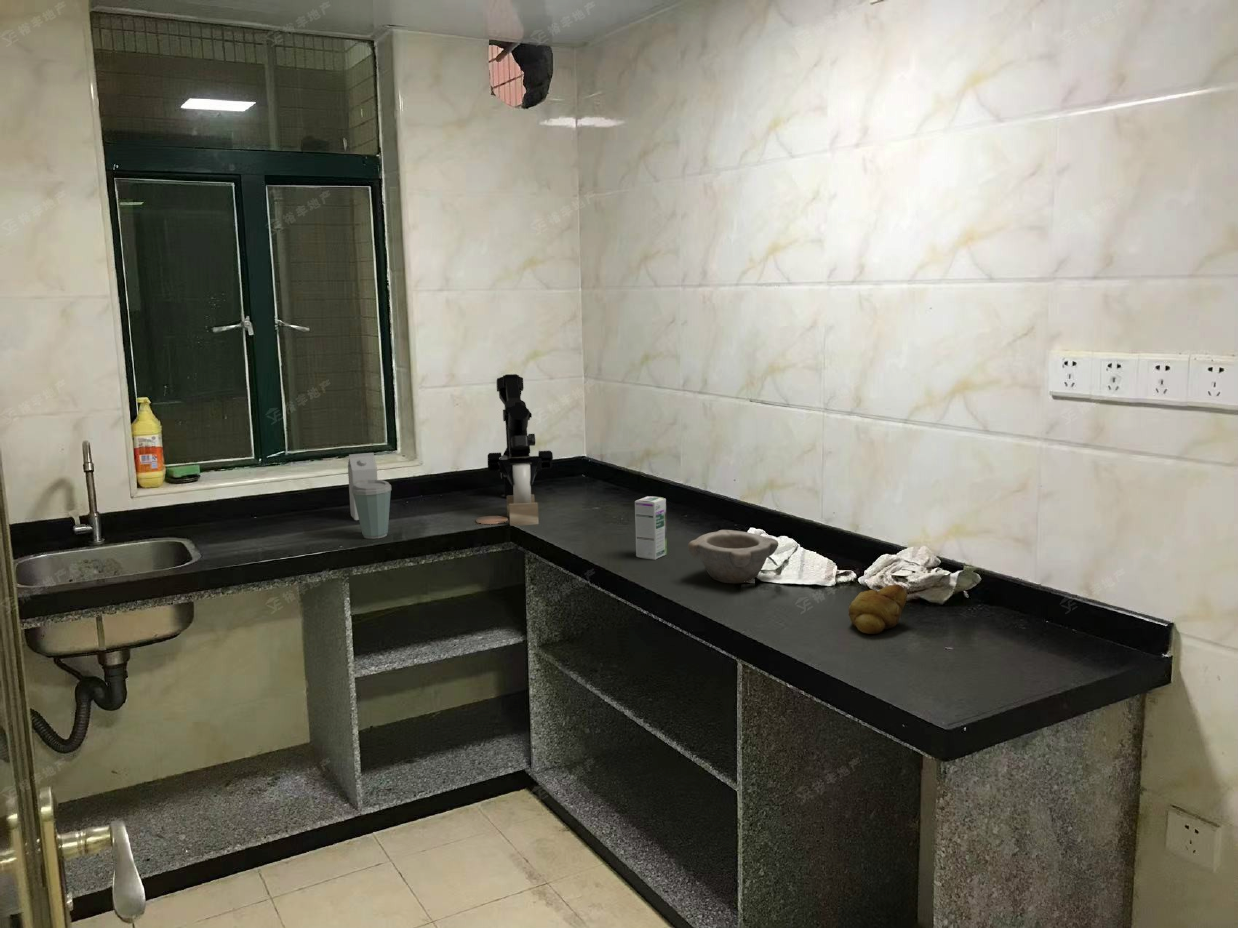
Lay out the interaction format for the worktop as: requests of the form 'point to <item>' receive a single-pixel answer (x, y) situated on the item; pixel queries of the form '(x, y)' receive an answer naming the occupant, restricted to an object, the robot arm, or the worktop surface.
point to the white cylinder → (521, 483)
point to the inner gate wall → (511, 501)
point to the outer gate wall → (523, 513)
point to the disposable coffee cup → (372, 506)
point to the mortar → (733, 554)
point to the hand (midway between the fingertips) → (522, 484)
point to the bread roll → (877, 609)
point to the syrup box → (650, 527)
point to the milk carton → (360, 474)
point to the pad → (491, 520)
